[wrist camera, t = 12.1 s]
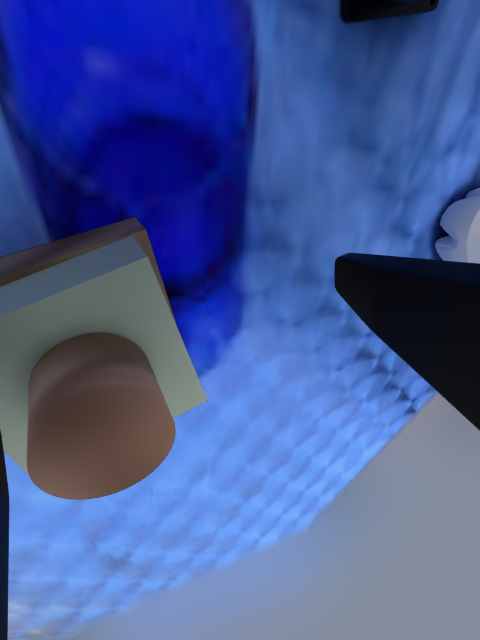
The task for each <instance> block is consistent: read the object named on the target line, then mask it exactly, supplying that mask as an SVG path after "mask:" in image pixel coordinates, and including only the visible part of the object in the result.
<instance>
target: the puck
mask: <svg viewBox="0 0 480 640" xmlns="http://www.w3.org/2000/svg"><path fill="white" fill-rule="evenodd" d="M174 439H175V423H174V420H173V417H172V415H171V413H170V410H169V408H168V405H167V403H166V401H165V398H164V396H163V393H162V391H161V389H160V386H159V384H158V382H157V379H156V377H155V374H154V372H153V370H152V367H151V365H150V362H149V360H148V358H147V356H146V354H145V353H144V351H143V350H142V349H141V348H140V347H139V346H138V345H137V344H135V343H134V342H132V341H130V340H128V339H126V338H124V337H121V336H118V335H113V334H106V333H93V334H85V335H80V336H76V337H73V338H70V339H68V340H66V341H63V342H61V343H59V344H58V345H56V346H54V347H53V348H51V349H50V350H49V351H48V352H46V353H45V354H44V355H43V356H42V357H41V358H40V360H39V361H38V362H37V363H36V365H35V367H34V369H33V370H32V373H31V376H30V380H29V396H28V432H27V470H28V474H29V476H30V478H31V480H32V481H33V483H34V484H35V485H36V486H37V487H38V488H40V489H41V490H42V491H44V492H46V493H48V494H50V495H53V496H56V497H60V498H65V499H78V500H80V499H92V498H98V497H103V496H107V495H110V494H113V493H116V492H119V491H122V490H124V489H126V488H128V487H130V486H132V485H134V484H136V483H138V482H139V481H141V480H142V479H144V478H145V477H147V476H148V475H149V474H150V473H152V472H153V471H154V470H155V469H156V468H157V467H158V466H159V465H160V464H161V463H162V462H163V461H164V459H165V458H166V456H167V455H168V453H169V452H170V450H171V448H172V445H173V443H174Z"/></svg>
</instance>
